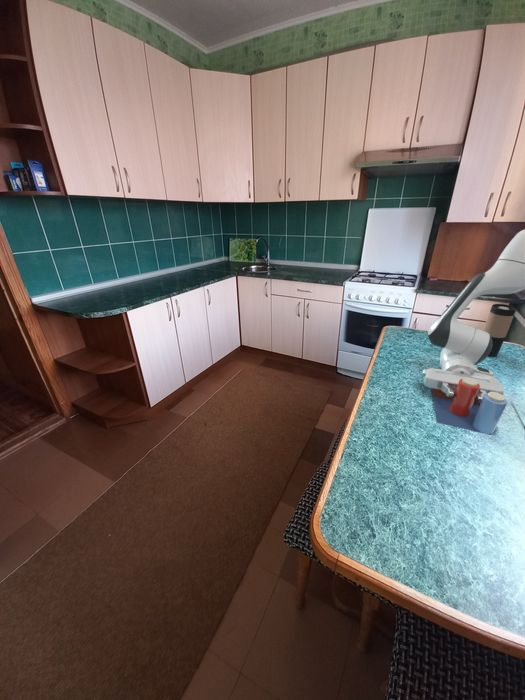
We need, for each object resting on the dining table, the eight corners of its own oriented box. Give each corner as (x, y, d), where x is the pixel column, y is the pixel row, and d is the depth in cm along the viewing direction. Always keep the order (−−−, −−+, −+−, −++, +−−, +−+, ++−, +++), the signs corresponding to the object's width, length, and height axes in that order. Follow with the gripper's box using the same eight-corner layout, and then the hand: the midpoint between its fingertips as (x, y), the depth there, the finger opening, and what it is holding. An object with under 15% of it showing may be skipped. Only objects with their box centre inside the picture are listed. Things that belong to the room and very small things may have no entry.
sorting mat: (472, 384, 100) (472, 383, 100) (490, 436, 78) (491, 435, 78) (429, 376, 105) (430, 375, 104) (436, 424, 83) (436, 422, 82)
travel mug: (472, 352, 120) (489, 306, 111) (479, 347, 125) (495, 302, 115) (494, 359, 115) (513, 311, 106) (500, 353, 119) (519, 307, 110)
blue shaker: (491, 424, 81) (505, 392, 76) (496, 436, 77) (511, 403, 72) (470, 419, 83) (483, 388, 78) (473, 431, 79) (487, 399, 74)
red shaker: (467, 408, 88) (479, 378, 83) (470, 418, 84) (482, 387, 79) (448, 404, 89) (458, 374, 85) (450, 414, 85) (461, 383, 80)
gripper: (424, 360, 97) (427, 381, 86) (498, 372, 89) (512, 397, 78) (420, 376, 100) (422, 398, 89) (491, 389, 92) (503, 415, 81)
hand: (465, 397), depth 83 cm, fingers open, 6 cm apart
